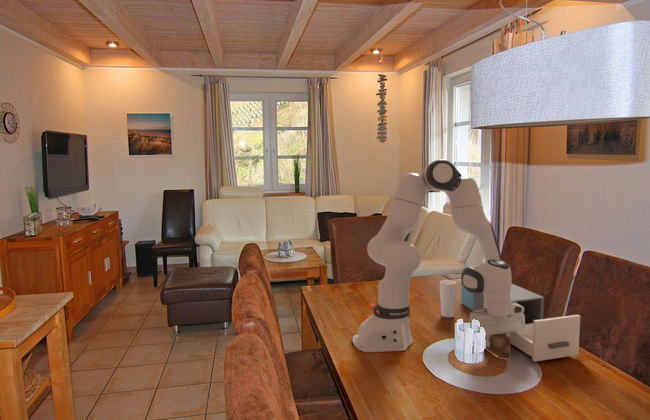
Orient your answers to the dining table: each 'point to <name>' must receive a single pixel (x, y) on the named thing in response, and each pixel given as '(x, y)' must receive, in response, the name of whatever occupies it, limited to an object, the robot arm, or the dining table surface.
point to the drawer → (549, 338)
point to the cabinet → (522, 297)
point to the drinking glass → (447, 297)
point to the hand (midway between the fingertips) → (496, 345)
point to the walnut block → (500, 345)
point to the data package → (466, 297)
